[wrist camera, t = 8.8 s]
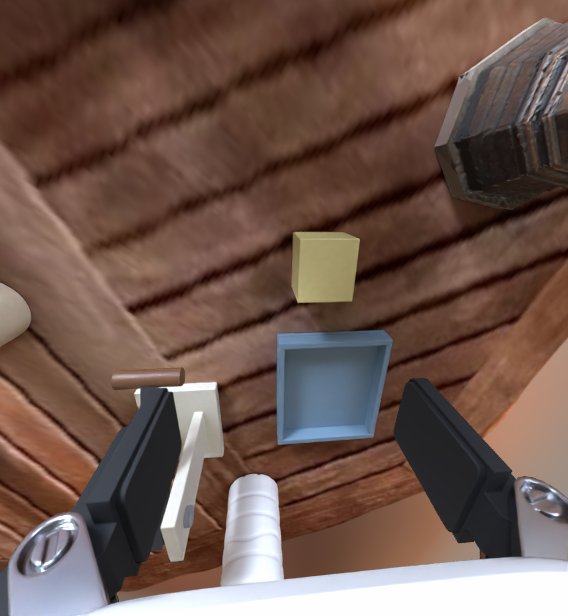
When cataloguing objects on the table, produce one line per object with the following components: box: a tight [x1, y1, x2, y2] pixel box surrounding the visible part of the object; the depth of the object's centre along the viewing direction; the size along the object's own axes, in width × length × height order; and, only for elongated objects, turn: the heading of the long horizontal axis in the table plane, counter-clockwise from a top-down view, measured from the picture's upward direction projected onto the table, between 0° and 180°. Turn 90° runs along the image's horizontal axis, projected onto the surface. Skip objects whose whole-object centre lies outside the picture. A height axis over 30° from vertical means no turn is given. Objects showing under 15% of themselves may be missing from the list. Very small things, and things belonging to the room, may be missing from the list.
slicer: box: [134, 382, 224, 562], centre depth 24 cm, size 10×8×12 cm
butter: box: [292, 232, 360, 303], centre depth 22 cm, size 5×4×4 cm
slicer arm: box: [111, 368, 185, 551], centre depth 20 cm, size 13×5×2 cm, turn 179°
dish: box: [277, 330, 393, 445], centre depth 28 cm, size 13×11×2 cm
